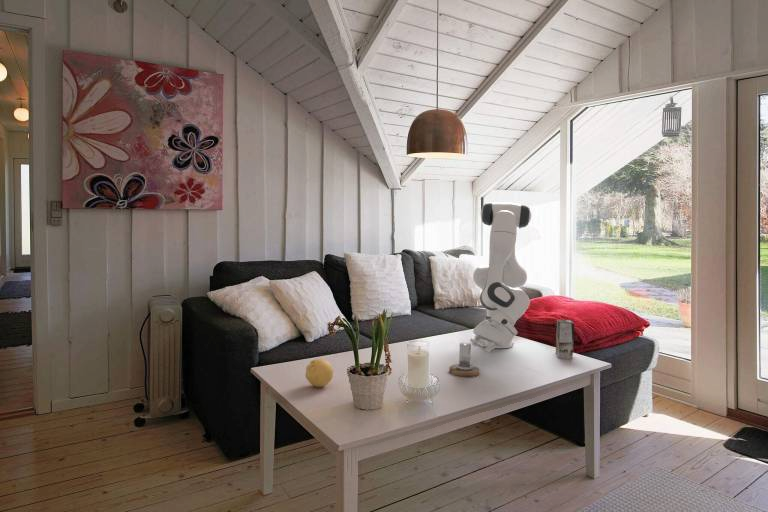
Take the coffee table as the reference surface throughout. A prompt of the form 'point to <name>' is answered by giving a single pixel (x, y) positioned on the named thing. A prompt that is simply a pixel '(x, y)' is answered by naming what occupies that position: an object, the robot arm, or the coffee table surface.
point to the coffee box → (565, 338)
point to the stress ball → (319, 372)
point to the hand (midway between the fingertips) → (479, 348)
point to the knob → (464, 357)
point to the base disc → (456, 372)
